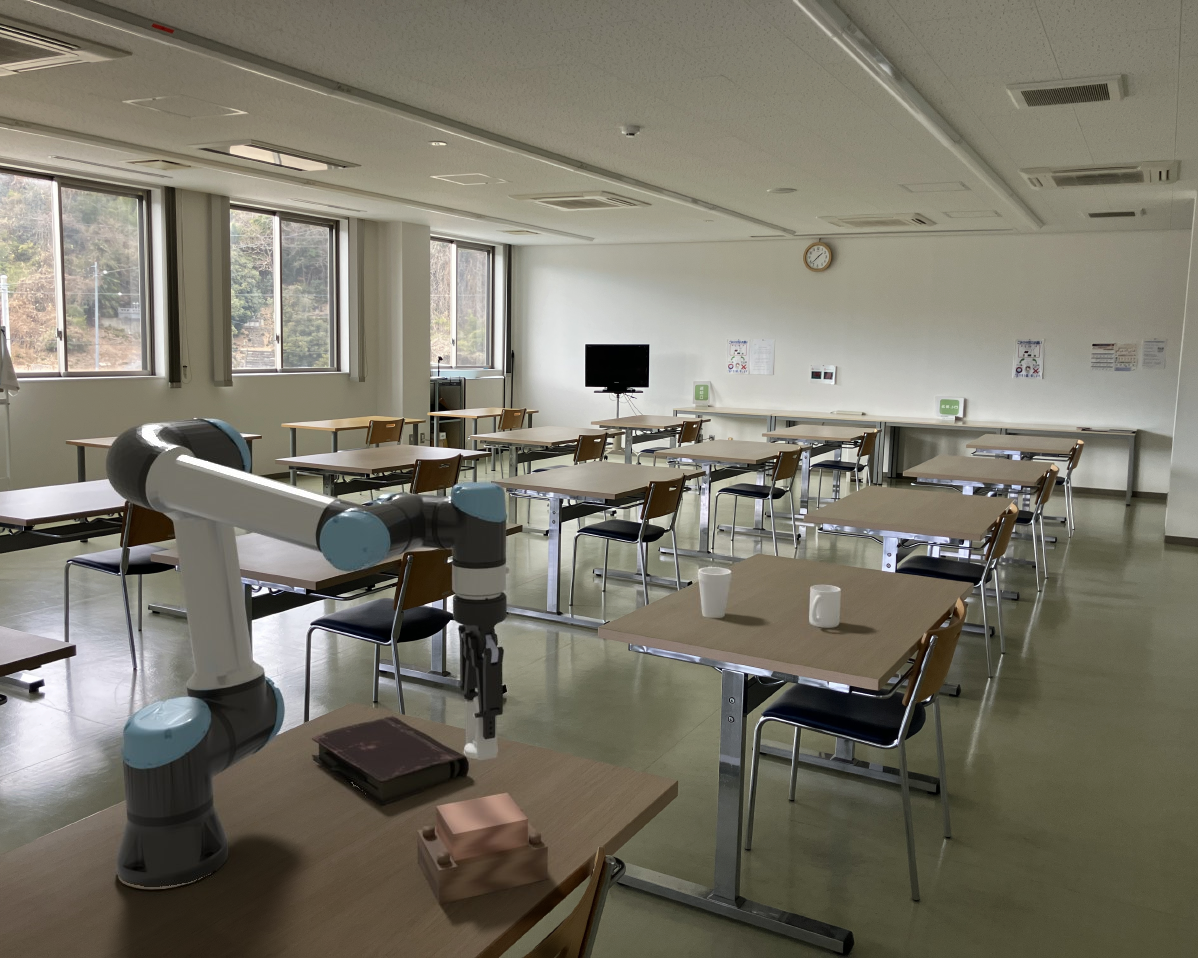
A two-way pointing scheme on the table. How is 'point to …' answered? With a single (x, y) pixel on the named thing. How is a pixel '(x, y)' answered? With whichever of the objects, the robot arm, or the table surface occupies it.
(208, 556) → the robot arm
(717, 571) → the foam cup
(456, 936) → the table surface
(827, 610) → the mug
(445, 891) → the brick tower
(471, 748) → the chess piece
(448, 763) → the diary
